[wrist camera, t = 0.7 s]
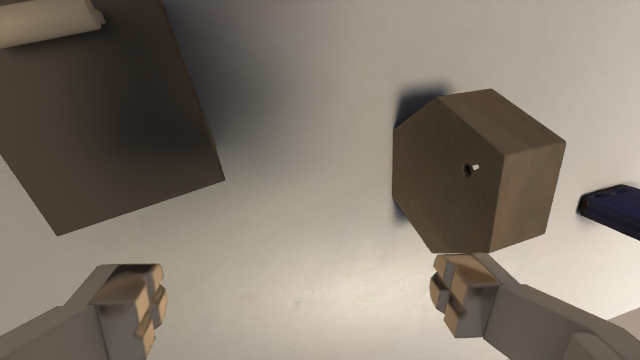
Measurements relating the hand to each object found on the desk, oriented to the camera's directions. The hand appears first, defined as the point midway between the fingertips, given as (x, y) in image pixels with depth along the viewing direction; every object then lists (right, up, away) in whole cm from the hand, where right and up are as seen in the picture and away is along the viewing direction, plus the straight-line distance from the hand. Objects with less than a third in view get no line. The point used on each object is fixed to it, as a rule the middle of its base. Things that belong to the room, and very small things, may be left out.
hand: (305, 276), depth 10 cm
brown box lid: (-15, +8, +13) cm, 21 cm away
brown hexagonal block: (+14, +6, +37) cm, 40 cm away
